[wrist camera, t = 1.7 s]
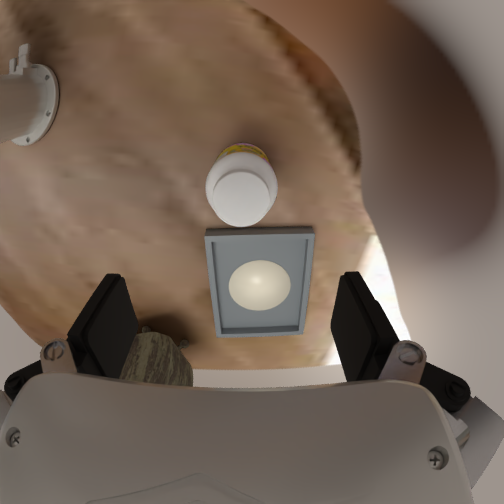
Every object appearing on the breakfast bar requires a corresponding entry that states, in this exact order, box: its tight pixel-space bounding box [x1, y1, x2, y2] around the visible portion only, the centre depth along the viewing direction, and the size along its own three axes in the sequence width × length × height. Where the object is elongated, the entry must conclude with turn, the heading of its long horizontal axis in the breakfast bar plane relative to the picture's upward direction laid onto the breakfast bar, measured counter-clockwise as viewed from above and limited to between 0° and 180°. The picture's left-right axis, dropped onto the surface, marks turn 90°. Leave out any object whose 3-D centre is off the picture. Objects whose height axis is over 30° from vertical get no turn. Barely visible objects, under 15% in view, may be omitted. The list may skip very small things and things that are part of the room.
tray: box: [204, 227, 315, 337], centre depth 40 cm, size 18×14×2 cm
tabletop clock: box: [119, 326, 193, 387], centre depth 35 cm, size 14×9×25 cm, turn 108°
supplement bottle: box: [205, 143, 278, 227], centre depth 28 cm, size 7×7×13 cm
